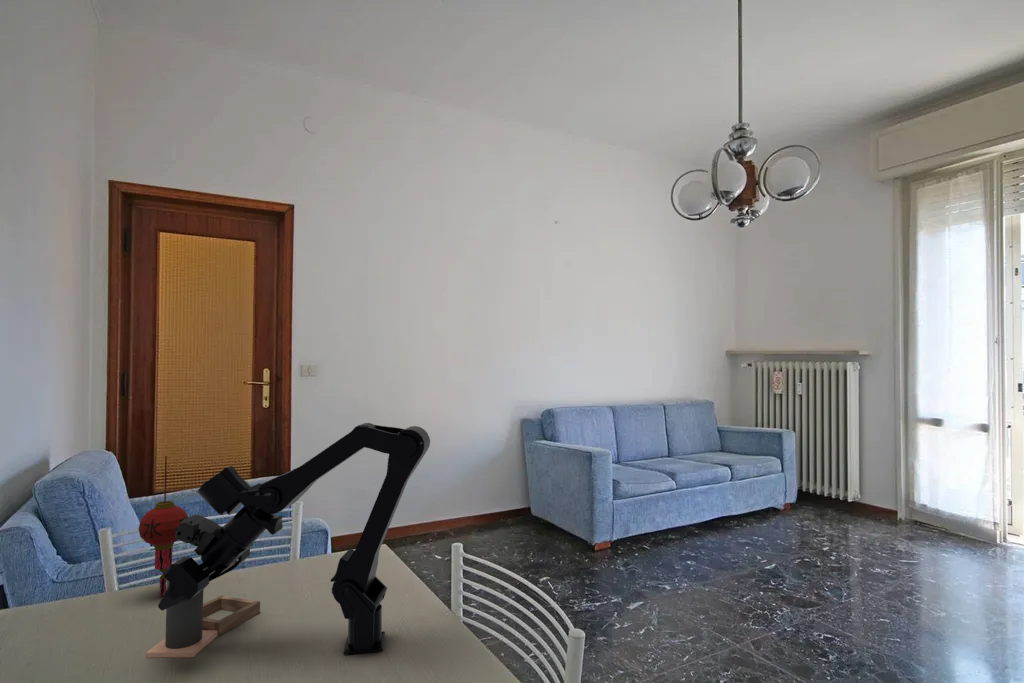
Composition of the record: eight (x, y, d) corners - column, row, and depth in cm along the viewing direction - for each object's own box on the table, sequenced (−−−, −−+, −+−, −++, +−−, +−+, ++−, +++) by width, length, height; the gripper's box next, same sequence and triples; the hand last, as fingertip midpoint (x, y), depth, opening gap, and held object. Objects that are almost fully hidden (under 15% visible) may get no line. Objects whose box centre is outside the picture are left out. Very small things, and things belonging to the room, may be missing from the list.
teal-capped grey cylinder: (201, 644, 97) (203, 573, 97) (163, 651, 94) (165, 579, 95) (202, 630, 102) (204, 563, 102) (166, 637, 99) (168, 569, 100)
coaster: (218, 634, 102) (218, 630, 102) (193, 657, 94) (193, 652, 94) (174, 635, 102) (175, 630, 102) (145, 657, 94) (146, 652, 94)
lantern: (197, 587, 124) (200, 452, 126) (170, 605, 115) (173, 459, 116) (155, 588, 124) (158, 452, 126) (125, 605, 115) (129, 459, 116)
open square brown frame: (260, 612, 111) (260, 601, 111) (219, 635, 101) (219, 623, 102) (220, 606, 114) (221, 595, 114) (177, 628, 105) (177, 616, 105)
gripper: (235, 489, 108) (177, 547, 108) (176, 514, 90) (106, 584, 89) (274, 530, 108) (217, 589, 107) (224, 563, 89) (154, 634, 89)
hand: (176, 597), depth 98 cm, fingers open, 9 cm apart
